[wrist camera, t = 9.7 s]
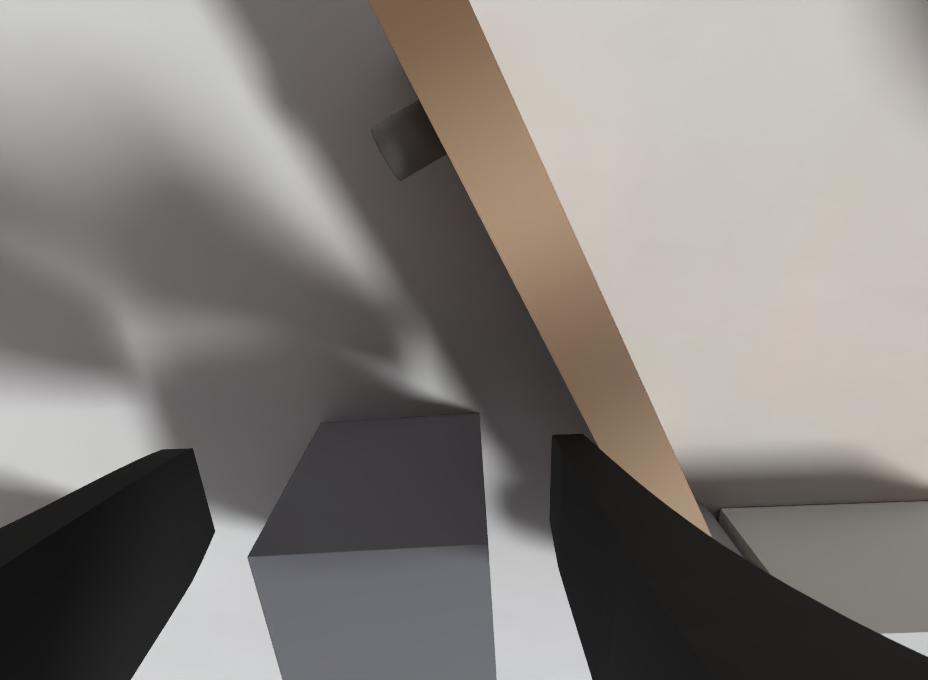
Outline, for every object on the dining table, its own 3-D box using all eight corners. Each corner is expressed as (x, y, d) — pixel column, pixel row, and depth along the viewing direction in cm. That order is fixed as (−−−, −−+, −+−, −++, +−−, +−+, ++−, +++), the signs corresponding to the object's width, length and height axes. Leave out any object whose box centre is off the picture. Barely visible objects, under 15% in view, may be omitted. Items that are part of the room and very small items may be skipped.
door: (668, 488, 14) (743, 606, 10) (599, 517, 14) (648, 641, 11) (444, 17, 10) (436, -72, 6) (356, 74, 10) (296, 22, 7)
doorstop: (479, 412, 13) (488, 544, 9) (487, 537, 15) (498, 707, 10) (321, 421, 14) (247, 557, 9) (345, 545, 15) (293, 717, 10)
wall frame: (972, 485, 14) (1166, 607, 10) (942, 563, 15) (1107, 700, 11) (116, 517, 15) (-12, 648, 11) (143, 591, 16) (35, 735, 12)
